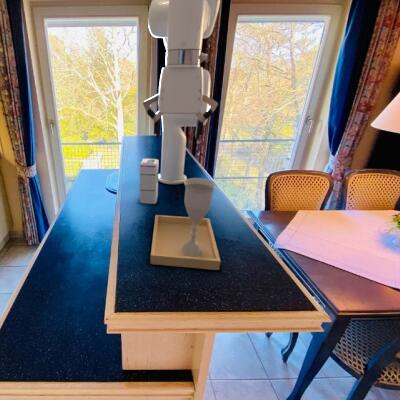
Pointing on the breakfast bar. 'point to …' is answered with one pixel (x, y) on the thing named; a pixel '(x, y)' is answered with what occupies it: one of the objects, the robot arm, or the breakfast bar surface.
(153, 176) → the syrup box
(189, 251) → the chalice
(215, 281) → the breakfast bar surface
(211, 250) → the tray
